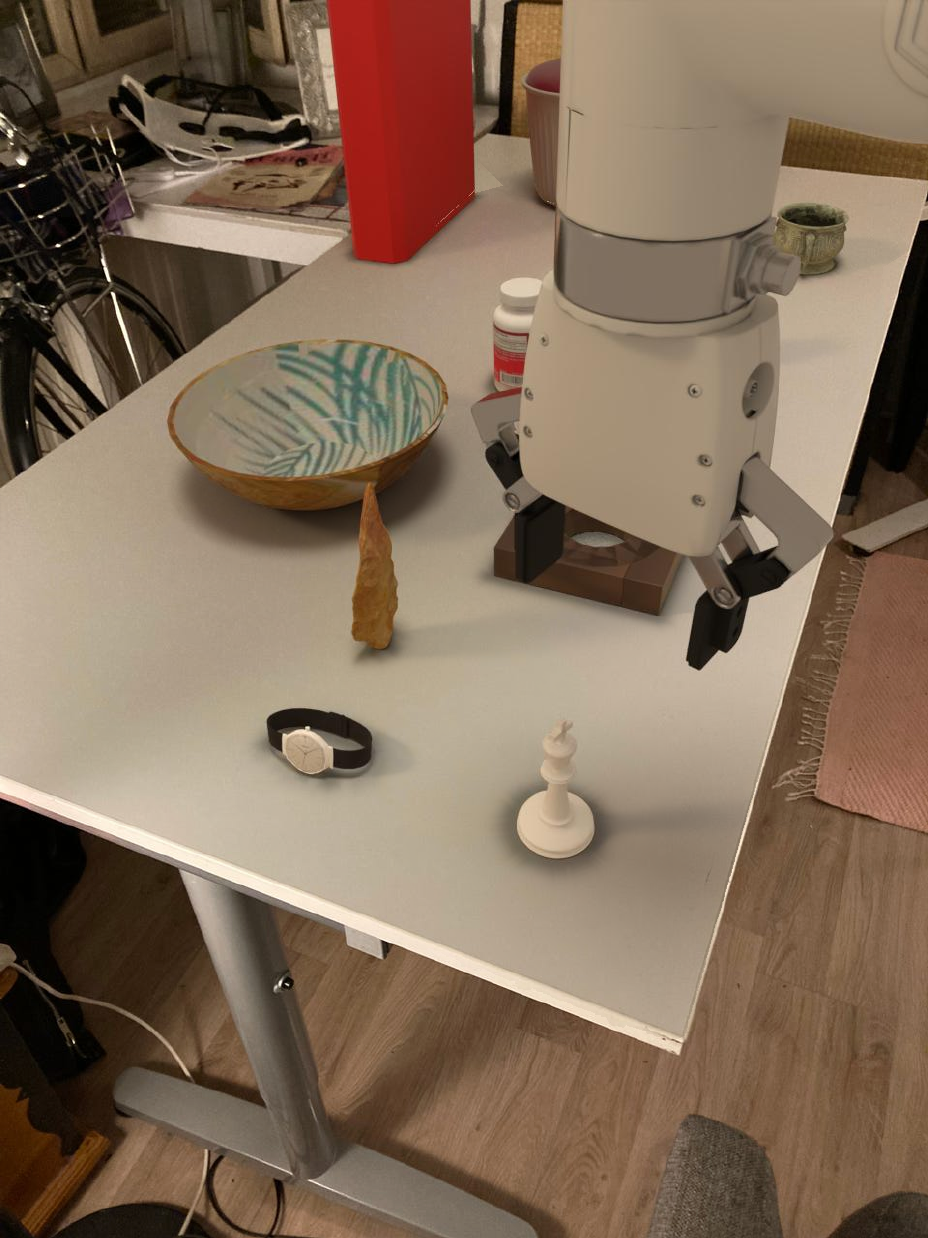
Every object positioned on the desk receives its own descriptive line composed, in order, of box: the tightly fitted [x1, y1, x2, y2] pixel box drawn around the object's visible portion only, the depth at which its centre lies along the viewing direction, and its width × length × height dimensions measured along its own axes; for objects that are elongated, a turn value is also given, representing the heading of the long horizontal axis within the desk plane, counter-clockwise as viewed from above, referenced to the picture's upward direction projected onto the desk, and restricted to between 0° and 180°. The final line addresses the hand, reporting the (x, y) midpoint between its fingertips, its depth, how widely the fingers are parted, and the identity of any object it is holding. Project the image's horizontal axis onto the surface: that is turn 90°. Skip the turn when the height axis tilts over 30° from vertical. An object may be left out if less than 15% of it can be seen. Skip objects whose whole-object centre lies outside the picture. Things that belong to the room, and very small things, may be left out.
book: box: [325, 0, 476, 265], centre depth 130 cm, size 27×8×32 cm, turn 159°
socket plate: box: [493, 506, 684, 616], centre depth 82 cm, size 14×12×3 cm
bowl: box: [166, 338, 449, 511], centre depth 90 cm, size 25×25×8 cm
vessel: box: [774, 202, 850, 275], centre depth 125 cm, size 12×9×6 cm
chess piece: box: [516, 716, 595, 859], centre depth 59 cm, size 5×5×10 cm
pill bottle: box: [492, 277, 543, 392], centre depth 101 cm, size 6×6×11 cm
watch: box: [265, 707, 373, 775], centre depth 66 cm, size 8×5×4 cm, turn 69°
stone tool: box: [350, 482, 399, 650], centre depth 70 cm, size 5×2×15 cm, turn 159°
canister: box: [520, 57, 561, 208], centre depth 140 cm, size 18×18×21 cm
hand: (619, 608), depth 47 cm, fingers open, 9 cm apart
